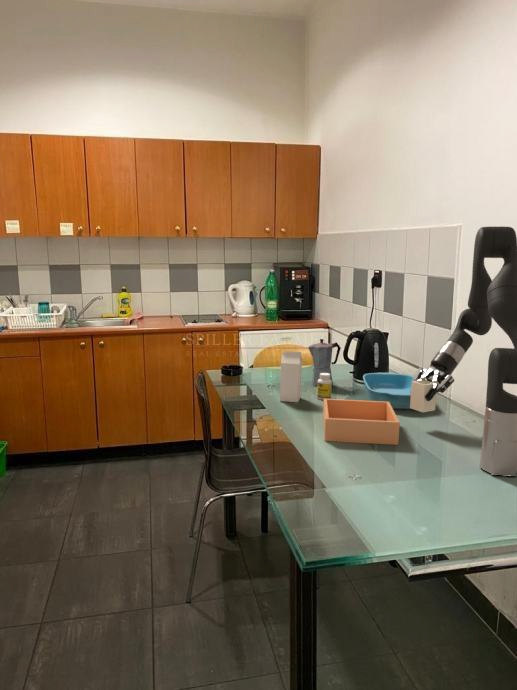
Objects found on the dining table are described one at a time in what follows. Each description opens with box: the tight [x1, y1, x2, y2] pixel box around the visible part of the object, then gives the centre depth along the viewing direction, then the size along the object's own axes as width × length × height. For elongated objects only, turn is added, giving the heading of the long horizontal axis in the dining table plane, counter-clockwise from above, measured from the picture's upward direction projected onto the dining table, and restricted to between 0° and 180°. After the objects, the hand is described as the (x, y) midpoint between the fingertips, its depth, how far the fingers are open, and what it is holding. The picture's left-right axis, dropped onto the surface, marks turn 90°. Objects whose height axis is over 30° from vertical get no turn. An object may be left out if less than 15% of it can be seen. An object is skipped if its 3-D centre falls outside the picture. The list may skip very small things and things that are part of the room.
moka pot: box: [307, 338, 341, 387], centre depth 227 cm, size 10×15×20 cm, turn 115°
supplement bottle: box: [316, 373, 333, 401], centre depth 208 cm, size 5×5×10 cm
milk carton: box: [279, 350, 303, 403], centre depth 204 cm, size 7×7×19 cm
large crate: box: [322, 398, 401, 446], centre depth 172 cm, size 22×22×7 cm
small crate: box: [410, 379, 437, 413], centre depth 174 cm, size 6×6×9 cm
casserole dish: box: [362, 372, 415, 410], centre depth 209 cm, size 37×22×7 cm, turn 175°
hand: (419, 396), depth 173 cm, fingers closed on small crate, 5 cm apart
